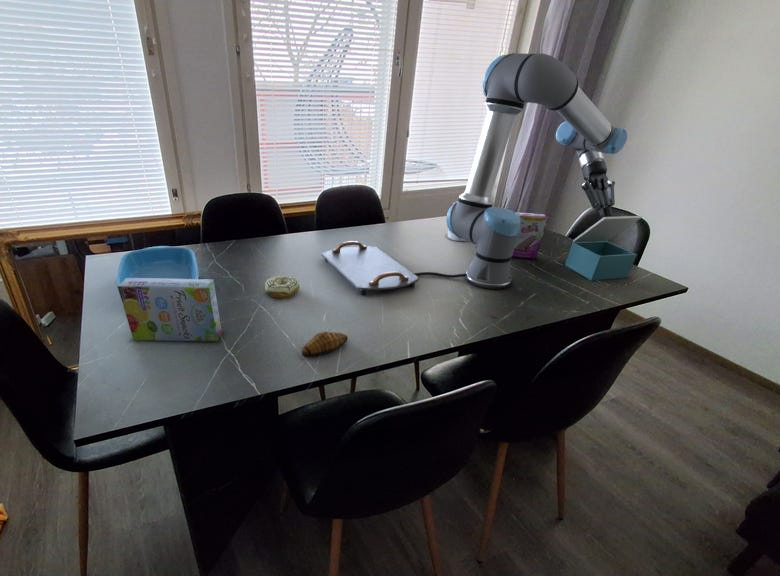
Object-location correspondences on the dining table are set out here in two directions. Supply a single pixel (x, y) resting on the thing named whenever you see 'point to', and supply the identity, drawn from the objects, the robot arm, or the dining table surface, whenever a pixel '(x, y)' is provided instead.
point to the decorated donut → (281, 286)
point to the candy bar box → (529, 235)
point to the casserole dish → (158, 264)
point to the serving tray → (369, 267)
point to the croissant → (324, 343)
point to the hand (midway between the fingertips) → (608, 225)
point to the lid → (606, 228)
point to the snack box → (171, 309)
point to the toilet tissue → (454, 237)
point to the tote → (600, 260)
